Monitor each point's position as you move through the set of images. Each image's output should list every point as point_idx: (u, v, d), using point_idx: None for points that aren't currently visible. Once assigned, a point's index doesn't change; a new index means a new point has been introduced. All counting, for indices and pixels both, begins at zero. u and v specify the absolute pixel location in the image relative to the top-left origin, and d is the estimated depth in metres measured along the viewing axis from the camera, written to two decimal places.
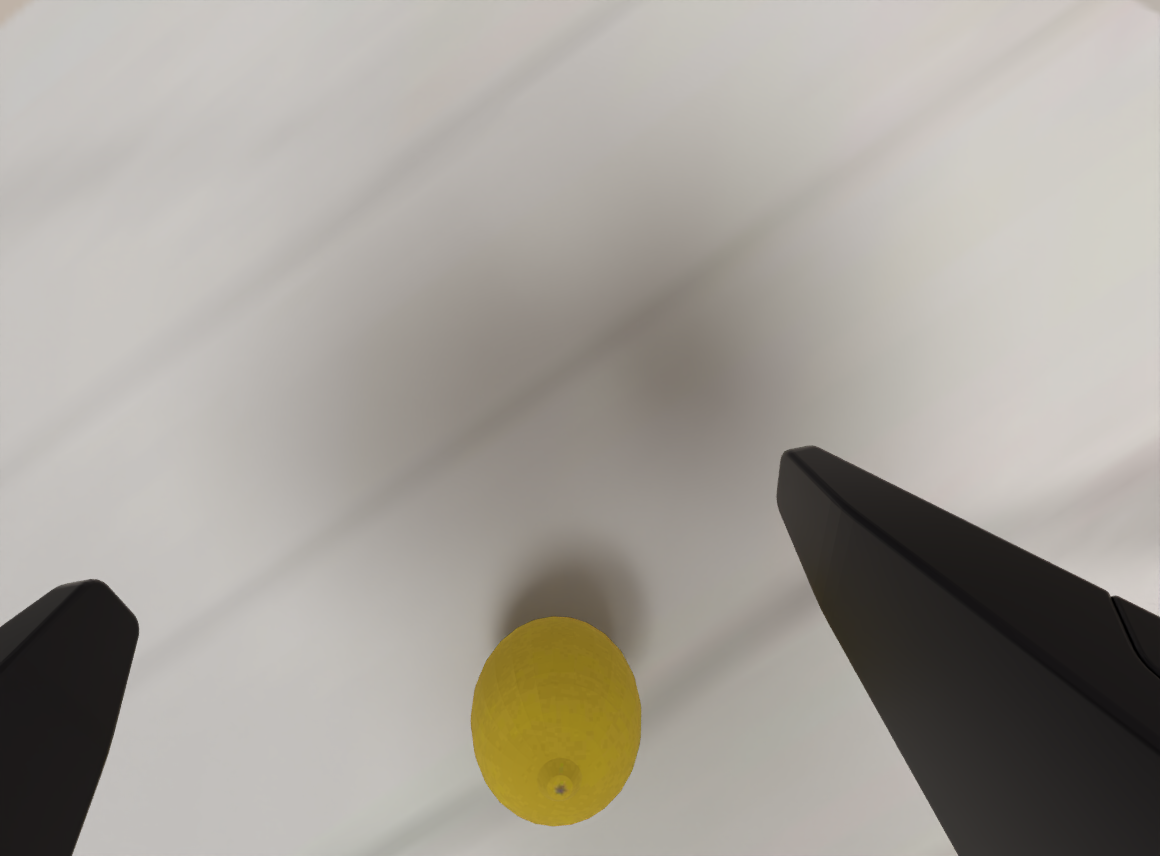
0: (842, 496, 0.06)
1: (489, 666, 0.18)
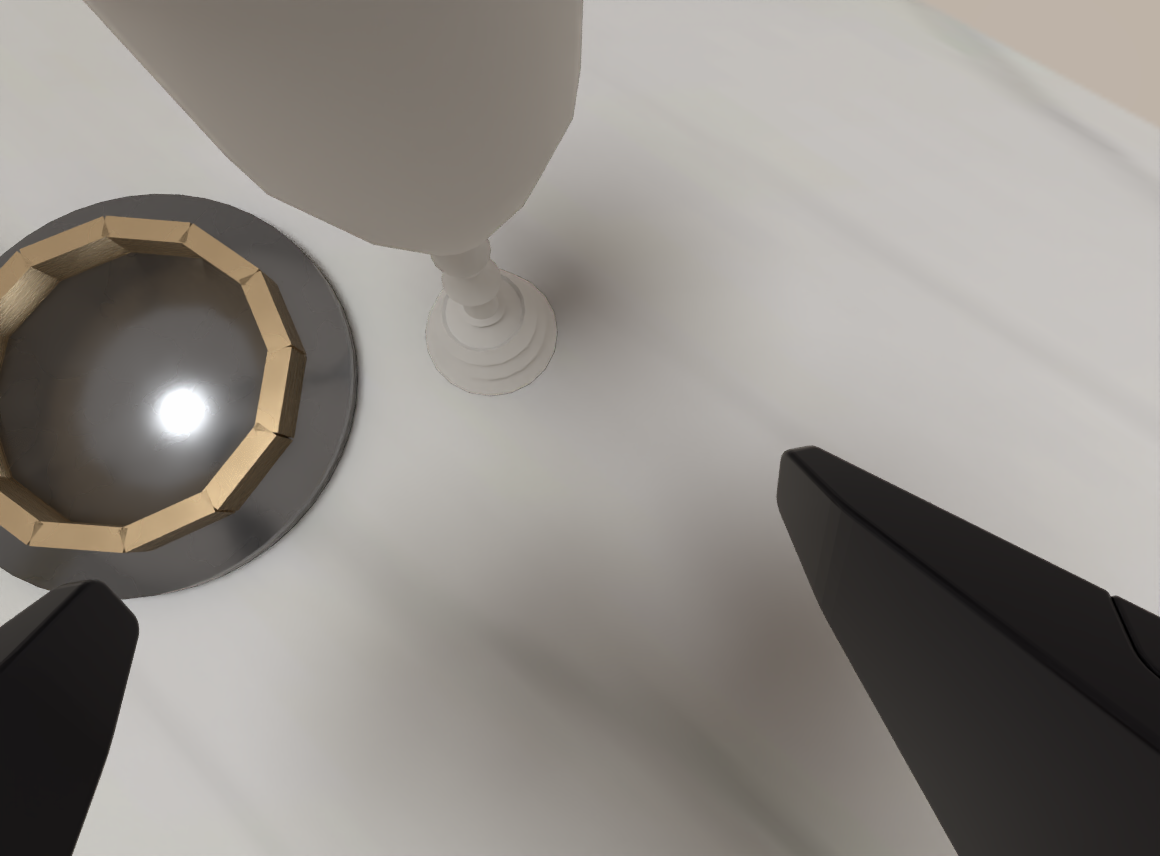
0: (842, 496, 0.06)
1: None
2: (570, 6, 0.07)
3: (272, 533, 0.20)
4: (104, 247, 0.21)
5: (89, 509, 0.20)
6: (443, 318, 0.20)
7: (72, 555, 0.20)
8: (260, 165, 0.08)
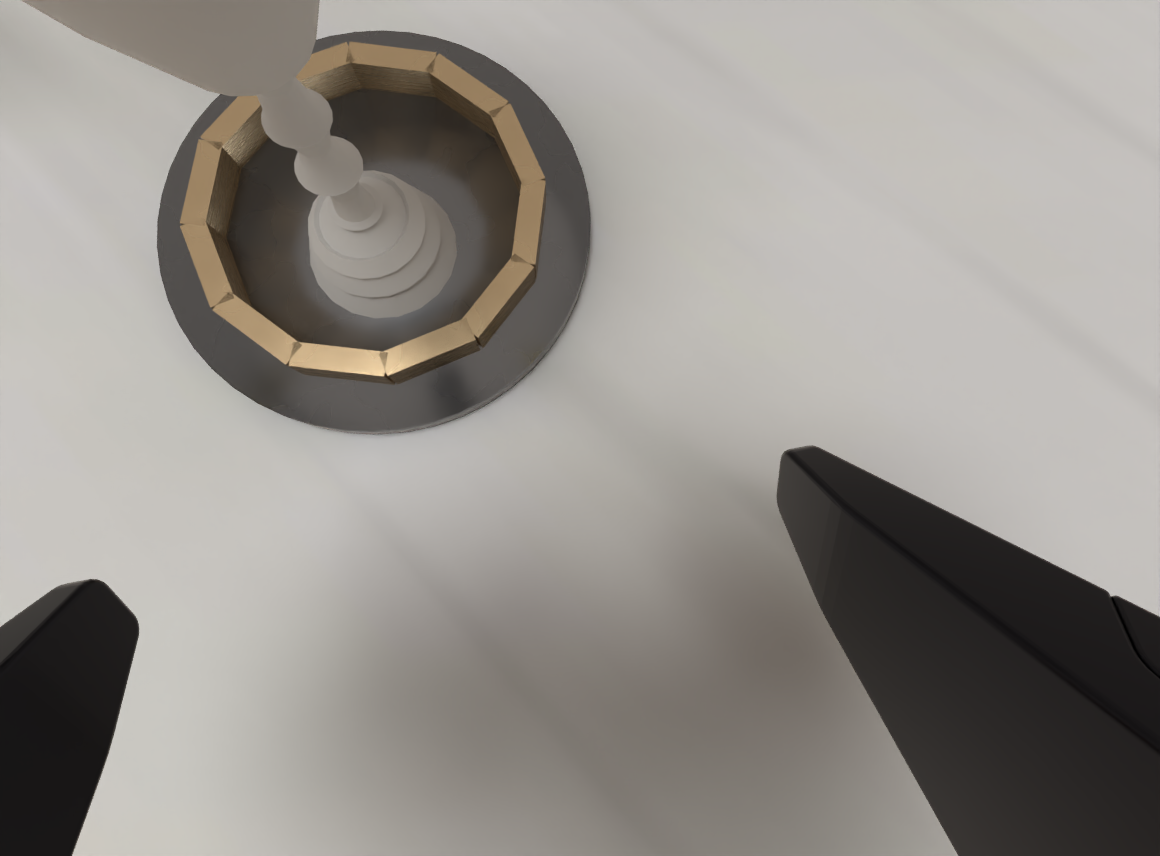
0: (842, 496, 0.06)
1: None
2: None
3: (518, 372, 0.20)
4: (344, 76, 0.20)
5: (332, 341, 0.20)
6: (315, 221, 0.18)
7: (317, 385, 0.19)
8: None
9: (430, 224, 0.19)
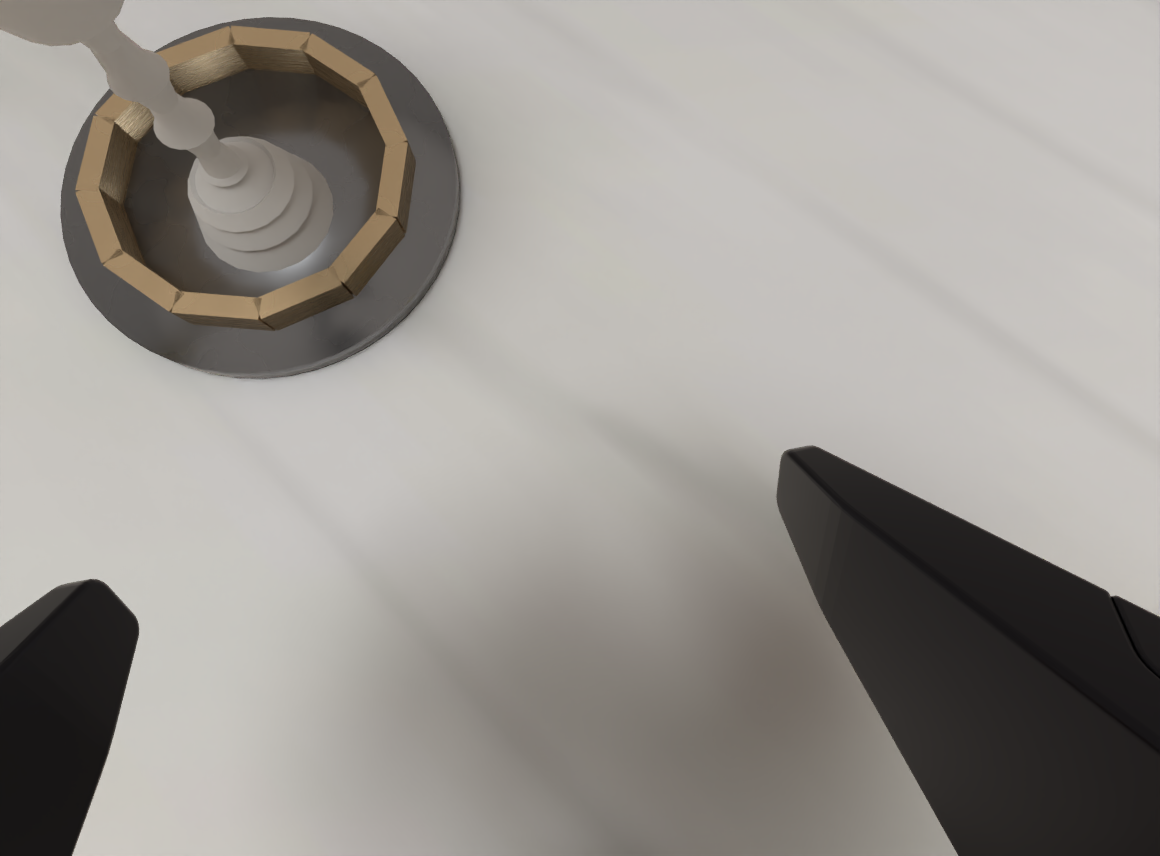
0: (842, 496, 0.06)
1: None
2: None
3: (388, 317, 0.22)
4: (228, 57, 0.22)
5: (218, 294, 0.21)
6: (191, 181, 0.20)
7: (204, 334, 0.21)
8: None
9: (301, 183, 0.21)
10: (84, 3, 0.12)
